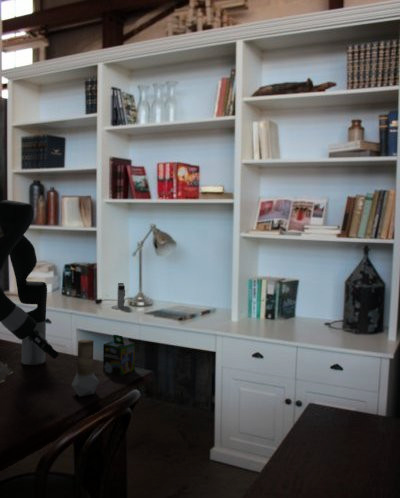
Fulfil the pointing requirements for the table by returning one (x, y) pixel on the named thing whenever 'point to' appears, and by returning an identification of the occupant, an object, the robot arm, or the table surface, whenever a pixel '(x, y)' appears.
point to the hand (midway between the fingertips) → (53, 353)
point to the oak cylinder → (85, 357)
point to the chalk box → (118, 356)
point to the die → (85, 384)
